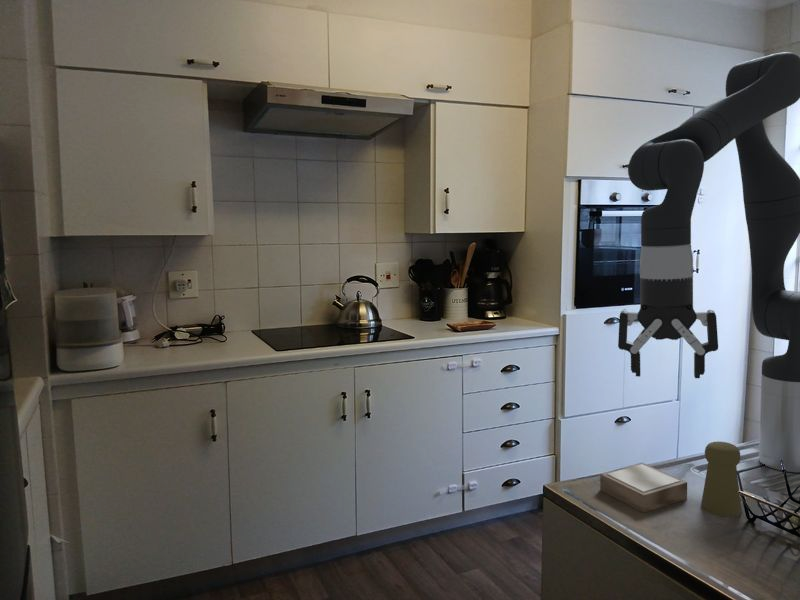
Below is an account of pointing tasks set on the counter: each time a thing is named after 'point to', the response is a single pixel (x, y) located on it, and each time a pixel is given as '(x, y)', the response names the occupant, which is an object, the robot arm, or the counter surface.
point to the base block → (643, 487)
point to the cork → (722, 480)
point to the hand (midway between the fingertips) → (666, 376)
